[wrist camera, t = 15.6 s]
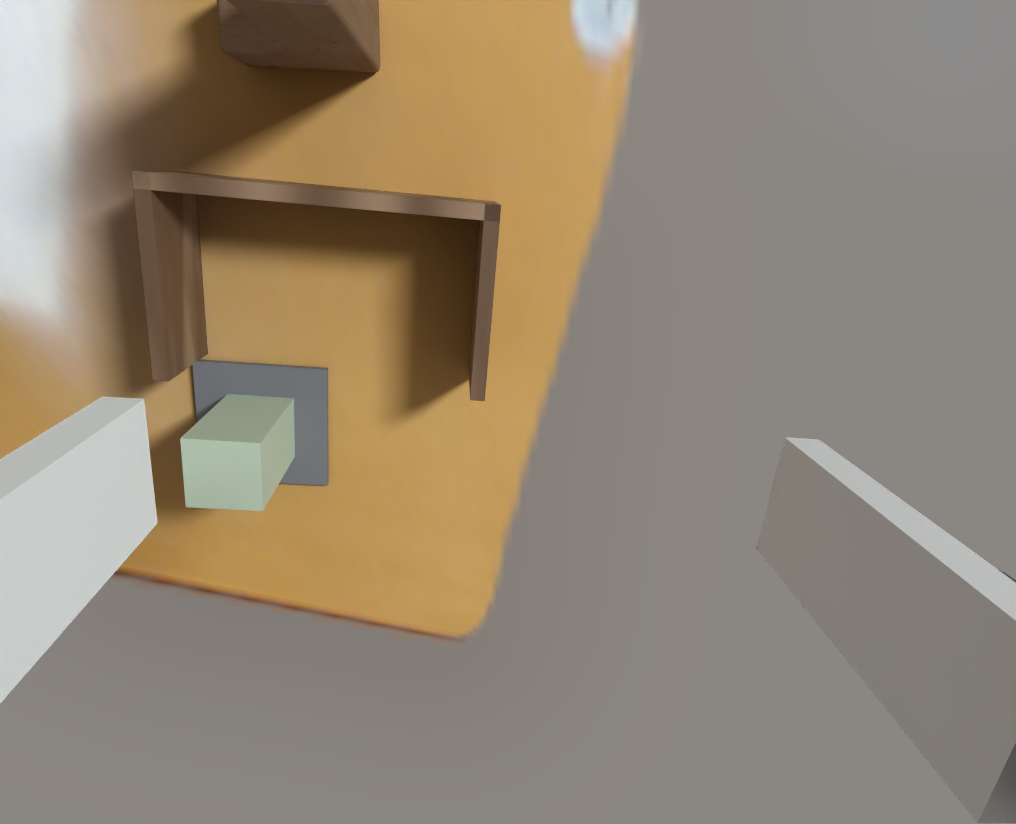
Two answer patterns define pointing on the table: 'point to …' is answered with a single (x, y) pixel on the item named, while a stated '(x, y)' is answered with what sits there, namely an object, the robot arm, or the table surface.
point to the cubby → (174, 211)
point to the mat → (284, 383)
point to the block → (238, 452)
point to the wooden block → (302, 33)
